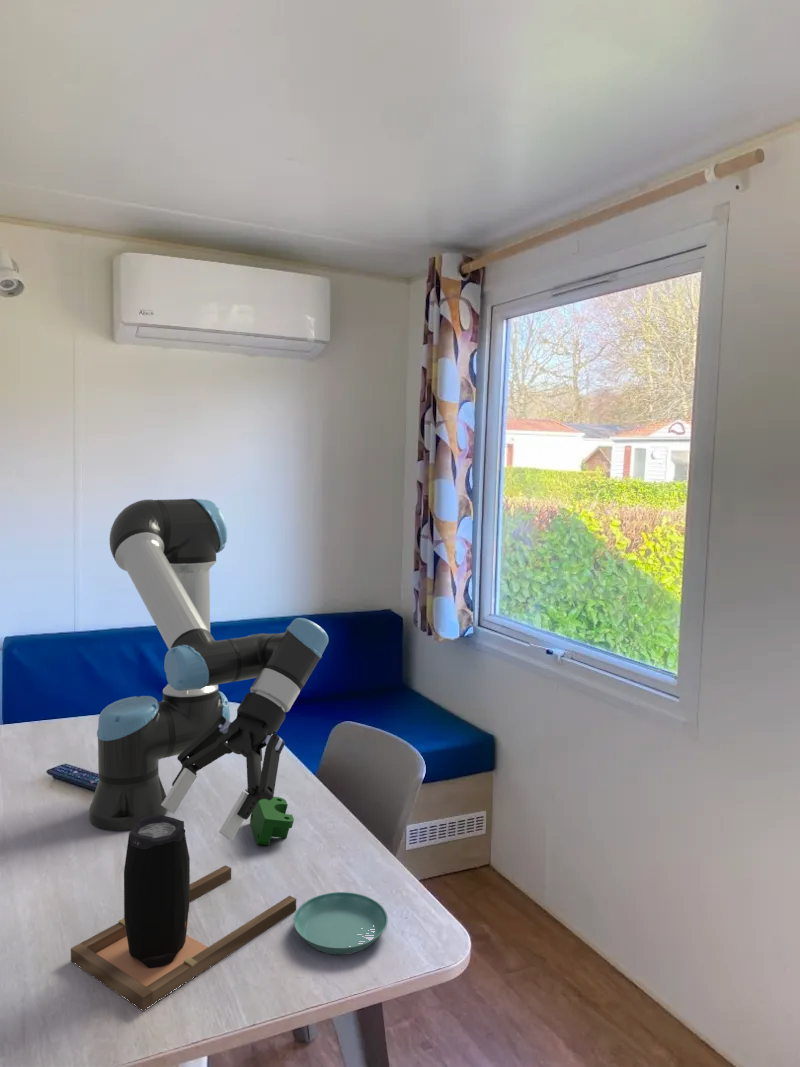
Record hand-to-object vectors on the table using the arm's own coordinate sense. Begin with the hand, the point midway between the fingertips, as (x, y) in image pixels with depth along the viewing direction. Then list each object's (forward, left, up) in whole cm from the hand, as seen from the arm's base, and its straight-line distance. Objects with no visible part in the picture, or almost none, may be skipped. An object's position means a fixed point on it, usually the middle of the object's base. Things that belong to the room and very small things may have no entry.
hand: (195, 822), depth 118 cm
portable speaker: (-1, -6, -18) cm, 19 cm away
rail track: (-1, 0, -18) cm, 18 cm away
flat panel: (-1, -7, -18) cm, 19 cm away
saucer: (+17, +14, -19) cm, 29 cm away
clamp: (-14, +31, -18) cm, 39 cm away
